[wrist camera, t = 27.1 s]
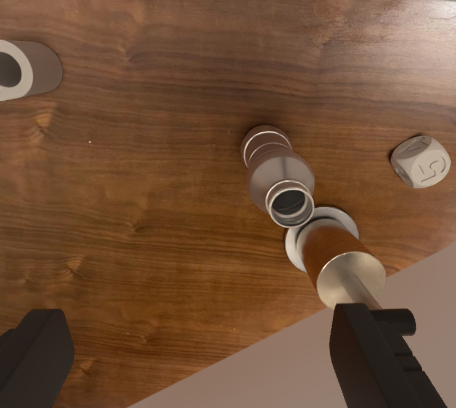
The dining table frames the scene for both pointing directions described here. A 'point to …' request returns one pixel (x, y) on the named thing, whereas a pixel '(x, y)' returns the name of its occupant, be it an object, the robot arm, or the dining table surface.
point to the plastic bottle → (278, 176)
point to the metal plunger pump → (342, 265)
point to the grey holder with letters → (27, 69)
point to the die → (421, 161)
